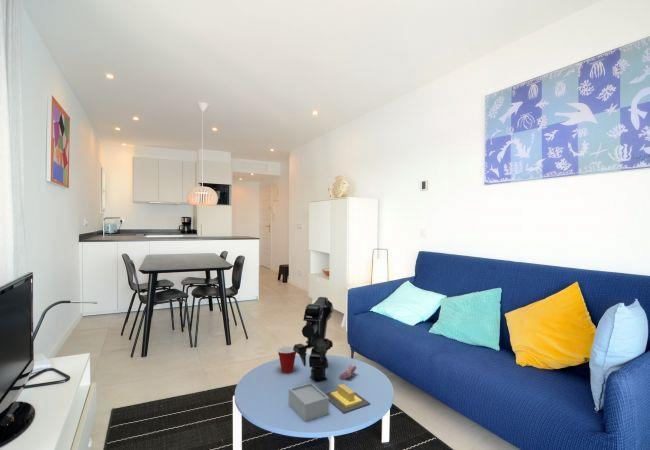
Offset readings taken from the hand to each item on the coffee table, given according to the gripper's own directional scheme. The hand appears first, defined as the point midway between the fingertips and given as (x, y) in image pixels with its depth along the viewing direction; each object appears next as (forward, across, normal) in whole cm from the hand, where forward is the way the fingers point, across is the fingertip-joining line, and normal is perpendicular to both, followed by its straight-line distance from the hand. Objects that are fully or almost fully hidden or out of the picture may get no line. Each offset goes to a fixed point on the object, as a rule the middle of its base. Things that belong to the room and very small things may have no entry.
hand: (313, 364), depth 160 cm
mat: (+12, +8, -16) cm, 21 cm away
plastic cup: (+12, -2, +24) cm, 27 cm away
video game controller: (+12, +22, +2) cm, 26 cm away
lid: (+11, +8, -16) cm, 21 cm away
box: (+12, -10, -14) cm, 21 cm away
